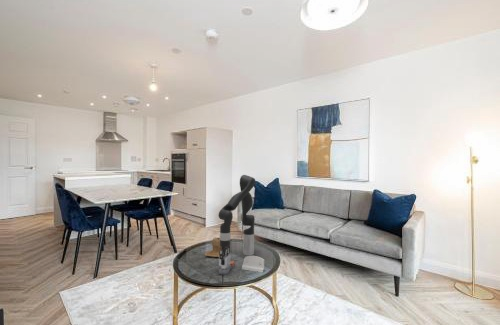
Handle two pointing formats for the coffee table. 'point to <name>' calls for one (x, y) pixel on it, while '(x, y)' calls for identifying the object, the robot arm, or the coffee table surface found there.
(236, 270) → the coffee table surface
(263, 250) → the coffee table surface
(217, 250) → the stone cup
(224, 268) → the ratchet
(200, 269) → the coffee table surface
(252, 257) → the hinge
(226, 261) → the socket
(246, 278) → the coffee table surface
